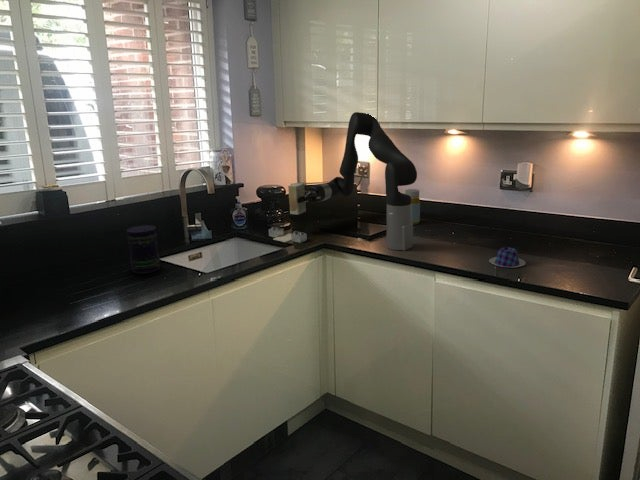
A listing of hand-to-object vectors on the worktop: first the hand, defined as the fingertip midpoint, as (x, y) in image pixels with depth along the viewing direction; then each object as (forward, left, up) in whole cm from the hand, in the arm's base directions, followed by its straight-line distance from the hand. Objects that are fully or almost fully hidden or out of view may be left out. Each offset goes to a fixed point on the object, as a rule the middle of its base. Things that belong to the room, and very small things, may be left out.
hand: (293, 199), depth 228 cm
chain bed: (0, +4, -16) cm, 16 cm away
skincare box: (0, -3, -6) cm, 7 cm away
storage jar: (+15, +62, -16) cm, 66 cm away
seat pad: (0, +4, -16) cm, 16 cm away
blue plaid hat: (-86, -16, -16) cm, 89 cm away
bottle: (-30, -46, -16) cm, 57 cm away
